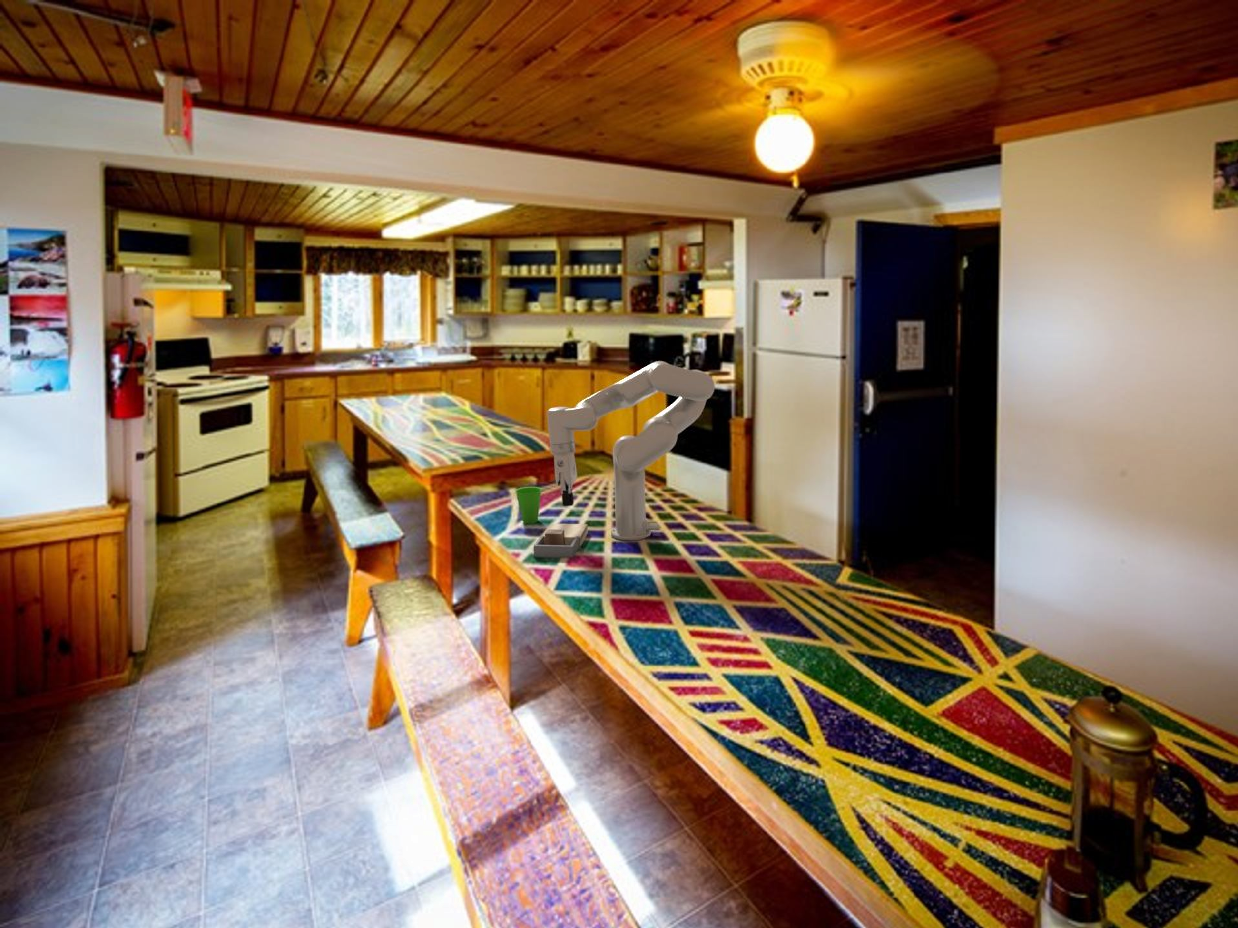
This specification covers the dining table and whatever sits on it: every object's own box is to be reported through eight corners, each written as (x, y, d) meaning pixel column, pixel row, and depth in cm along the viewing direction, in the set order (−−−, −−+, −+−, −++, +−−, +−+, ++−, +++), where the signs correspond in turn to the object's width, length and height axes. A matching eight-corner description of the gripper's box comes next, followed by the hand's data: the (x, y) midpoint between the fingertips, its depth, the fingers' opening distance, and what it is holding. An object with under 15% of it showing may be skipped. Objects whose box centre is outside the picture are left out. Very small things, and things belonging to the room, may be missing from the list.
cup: (532, 526, 238) (530, 494, 236) (511, 523, 243) (509, 491, 240) (548, 519, 246) (547, 488, 243) (528, 516, 250) (526, 485, 248)
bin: (579, 547, 217) (578, 536, 217) (573, 557, 208) (572, 546, 208) (541, 546, 219) (541, 535, 218) (534, 556, 210) (533, 545, 209)
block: (564, 529, 216) (561, 533, 212) (564, 545, 217) (561, 549, 214) (548, 529, 217) (544, 533, 213) (548, 544, 218) (545, 549, 214)
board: (587, 533, 230) (587, 524, 229) (580, 546, 218) (579, 537, 217) (551, 532, 232) (550, 523, 231) (541, 545, 219) (540, 536, 219)
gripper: (569, 452, 212) (575, 511, 216) (579, 442, 226) (584, 497, 230) (545, 453, 213) (551, 512, 217) (556, 443, 227) (561, 498, 232)
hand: (568, 504), depth 224 cm, fingers closed
